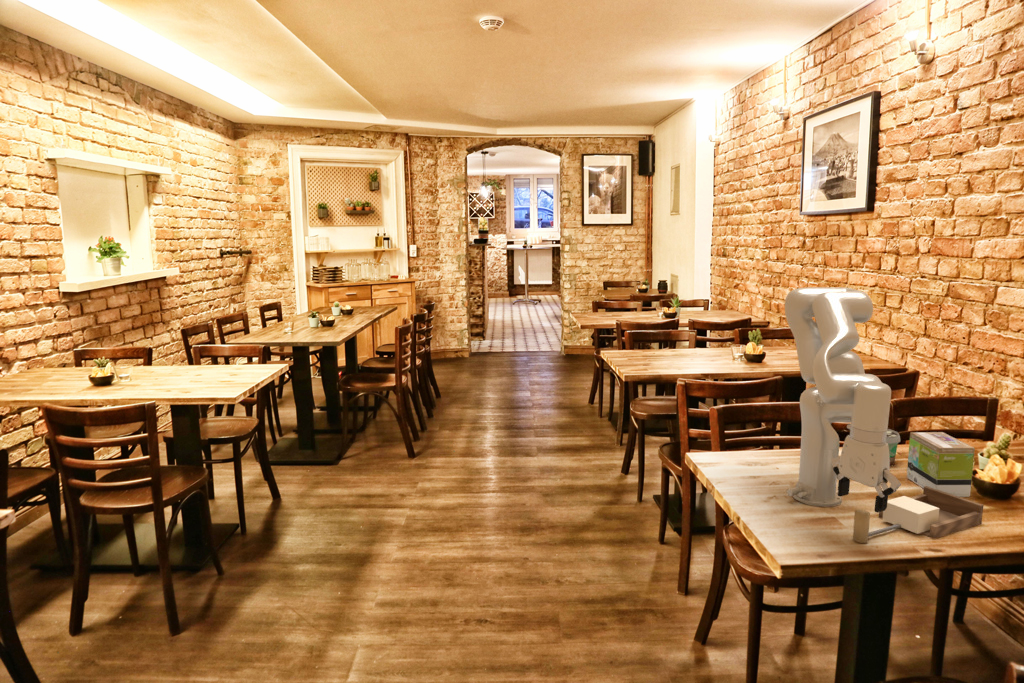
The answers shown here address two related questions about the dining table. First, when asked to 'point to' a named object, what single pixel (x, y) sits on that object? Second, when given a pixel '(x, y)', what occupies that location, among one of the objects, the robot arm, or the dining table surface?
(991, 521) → the dining table surface
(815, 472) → the robot arm
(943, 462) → the tea box
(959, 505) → the wooden frame
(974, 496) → the dining table surface
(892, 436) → the food container
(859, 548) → the dining table surface
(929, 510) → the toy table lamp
